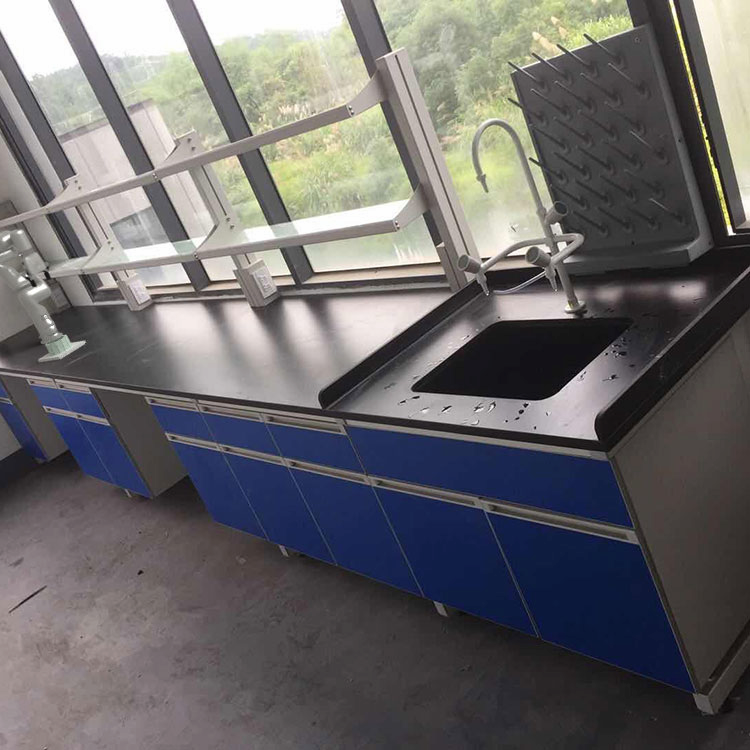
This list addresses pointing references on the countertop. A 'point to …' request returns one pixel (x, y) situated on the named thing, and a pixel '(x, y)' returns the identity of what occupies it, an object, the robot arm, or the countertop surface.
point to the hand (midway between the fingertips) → (42, 283)
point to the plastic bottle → (50, 328)
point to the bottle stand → (60, 349)
